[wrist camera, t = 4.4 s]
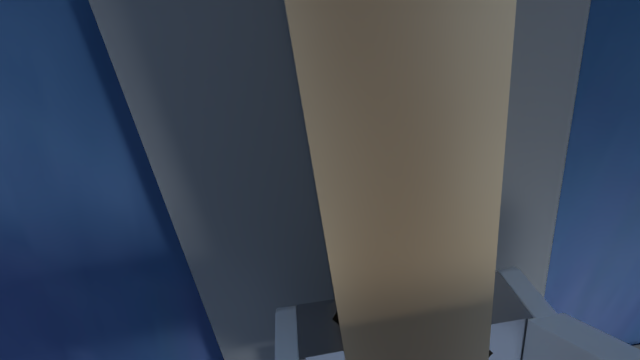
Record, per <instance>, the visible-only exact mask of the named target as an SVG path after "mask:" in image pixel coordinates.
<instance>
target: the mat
mask: <svg viewBox="0 0 640 360" xmlns="http://www.w3.org/2000/svg"><path fill="white" fill-rule="evenodd" d="M88 1H89V3H90V6H91V9H92V11H93V14H94V17H95V19H96V22H97V25H98V27H99V30H100V32H101V35H102V38H103V40H104V43H105V46H106V48H107V51H108V54H109V56H110V59H111V62H112V64H113V67H114V70H115V72H116V75H117V77H118V80H119V83H120V85H121V88H122V91H123V93H124V96H125V99H126V101H127V104H128V107H129V109H130V112H131V114H132V117H133V120H134V122H135V125H136V128H137V130H138V133H139V136H140V138H141V141H142V144H143V146H144V149H145V152H146V154H147V157H148V159H149V162H150V165H151V167H152V170H153V173H154V175H155V178H156V181H157V183H158V186H159V189H160V191H161V194H162V197H163V199H164V202H165V204H166V207H167V210H168V212H169V215H170V218H171V220H172V223H173V226H174V228H175V231H176V234H177V236H178V239H179V242H180V244H181V247H182V249H183V252H184V255H185V257H186V260H187V263H188V265H189V268H190V271H191V273H192V276H193V279H194V281H195V284H196V286H197V289H198V292H199V294H200V297H201V300H202V302H203V305H204V308H205V310H206V313H207V316H208V318H209V321H210V324H211V326H212V329H213V331H214V334H215V337H216V339H217V342H218V345H219V347H220V350H221V353H222V355H223V358H224V360H275V313H276V309H277V308H282V307H289V306H296V305H299V304H305V303H312V302H319V301H325V300H332V299H335V297H334V292H333V286H332V280H331V274H330V268H329V262H328V256H327V251H326V245H325V239H324V233H323V227H322V221H321V215H320V209H319V204H318V198H317V192H316V186H315V180H314V174H313V168H312V162H311V157H310V151H309V145H308V139H307V133H306V127H305V121H304V115H303V110H302V104H301V98H300V92H299V86H298V80H297V74H296V68H295V63H294V57H293V51H292V45H291V39H290V33H289V27H288V21H287V16H286V10H285V4H284V0H88ZM590 3H591V0H517V2H516V15H515V28H514V40H513V53H512V66H511V79H510V91H509V104H508V117H507V130H506V142H505V155H504V168H503V181H502V193H501V206H500V219H499V232H498V244H497V257H496V270H499V269H504V268H509V267H517V268H519V269H520V271H521V272H522V273H523V274H524V275H525V276H526V278H527V279H528V280H529V281H530V282H531V283H532V285H533V286H534V287H535V288H536V289H537V290H538V292H539V293H540V294H541V295H542V296H543V298H544V293H545V287H546V281H547V274H548V268H549V262H550V255H551V249H552V243H553V236H554V230H555V224H556V217H557V211H558V205H559V199H560V192H561V186H562V180H563V173H564V167H565V161H566V154H567V148H568V142H569V135H570V129H571V123H572V116H573V110H574V104H575V97H576V91H577V85H578V78H579V72H580V66H581V60H582V53H583V47H584V41H585V34H586V28H587V22H588V15H589V9H590Z"/></svg>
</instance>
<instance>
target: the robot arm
mask: <svg viewBox="0 0 640 360" xmlns="http://www.w3.org/2000/svg"><path fill="white" fill-rule="evenodd" d="M275 360H345V354H344V348H343V342H342V337H341V331H340V325H339V320H338V314H337V308H336V302H335V299H332V300H325V301H319V302H312V303H305V304H299V305H296V306H289V307H282V308H277V309H276V313H275ZM488 360H640V349H638V348H636V347H633V346H631V345H629V344H627V343H625V342H623V341H621V340H619V339H617V338H615V337H613V336H611V335H609V334H606V333H604V332H602V331H600V330H598V329H596V328H594V327H592V326H590V325H588V324H586V323H584V322H581V321H579V320H577V319H575V318H573V317H571V316H569V315H567V314H565V313H560V314H557V313H556V312H555V310H554V309H553V308H552V307H551V306H550V305H549V303H548V302H547V301H546V300H545V299H544V298H543V296H542V295H541V294H540V293H539V292H538V290H537V289H536V288H535V287H534V286H533V285H532V283H531V282H530V281H529V280H528V279H527V278H526V276H525V275H524V274H523V273H522V272H521V271H520V269H519V268H517V267H509V268H504V269H499V270H495V282H494V295H493V308H492V321H491V333H490V346H489V359H488Z"/></svg>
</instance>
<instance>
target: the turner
mask: <svg viewBox="0 0 640 360" xmlns="http://www.w3.org/2000/svg"><path fill="white" fill-rule="evenodd" d="M516 2H517V0H284V4H285V10H286V16H287V21H288V27H289V33H290V39H291V45H292V51H293V57H294V63H295V68H296V74H297V80H298V86H299V92H300V98H301V104H302V110H303V115H304V121H305V127H306V133H307V139H308V145H309V151H310V157H311V162H312V168H313V174H314V180H315V186H316V192H317V198H318V204H319V209H320V215H321V221H322V227H323V233H324V239H325V245H326V251H327V256H328V262H329V268H330V274H331V280H332V286H333V292H334V297H335V302H336V308H337V314H338V320H339V325H340V331H341V337H342V342H343V348H344V354H345V360H488V359H489V346H490V333H491V321H492V308H493V295H494V282H495V270H496V257H497V244H498V232H499V219H500V206H501V193H502V181H503V168H504V155H505V142H506V130H507V117H508V104H509V91H510V79H511V66H512V53H513V40H514V28H515V15H516Z"/></svg>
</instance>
